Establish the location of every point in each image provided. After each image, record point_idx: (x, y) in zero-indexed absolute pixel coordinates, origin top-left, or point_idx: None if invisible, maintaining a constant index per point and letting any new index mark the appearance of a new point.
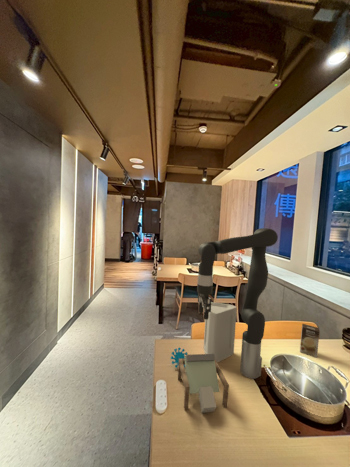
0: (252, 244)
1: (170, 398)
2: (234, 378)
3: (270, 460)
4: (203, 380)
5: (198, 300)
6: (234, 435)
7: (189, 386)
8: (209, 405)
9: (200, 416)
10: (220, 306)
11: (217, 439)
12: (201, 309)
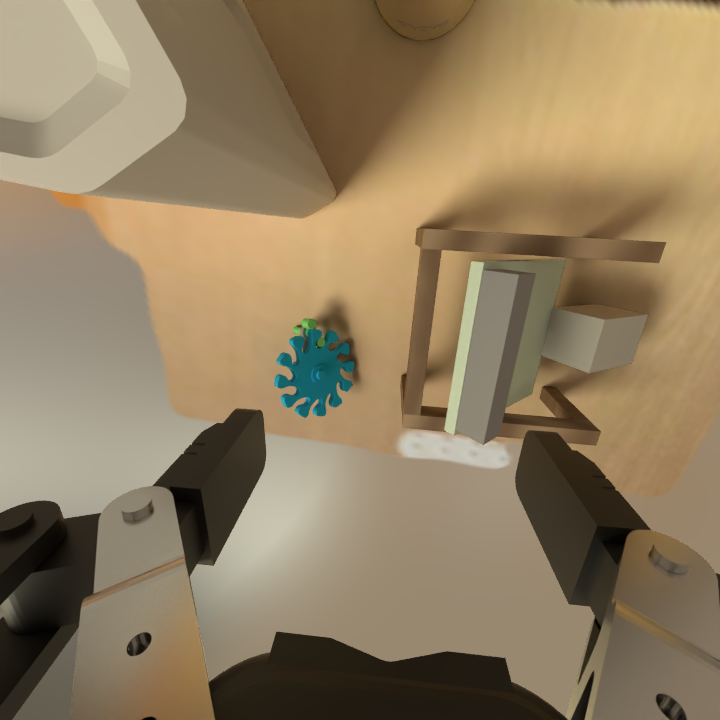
0: None
1: None
2: (452, 112)
3: None
4: (529, 333)
5: (63, 640)
6: (710, 266)
7: (598, 431)
8: (635, 341)
9: None
10: None
11: (693, 330)
12: (247, 460)
